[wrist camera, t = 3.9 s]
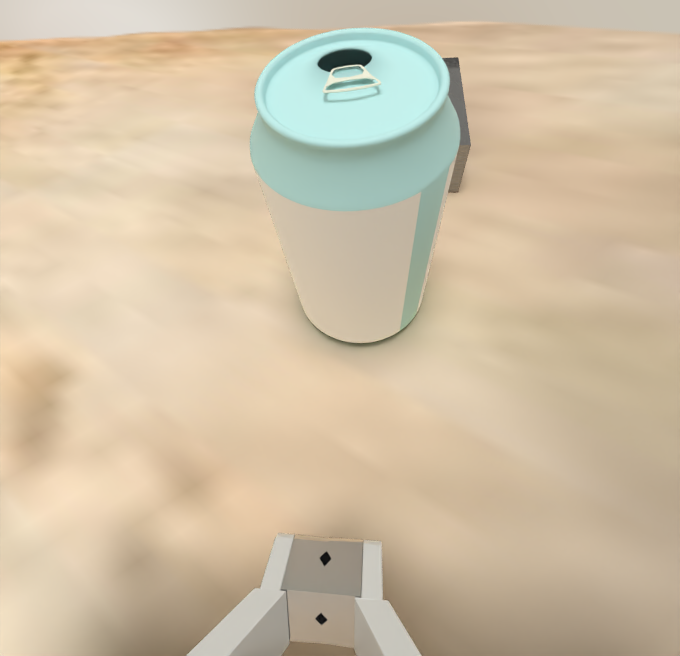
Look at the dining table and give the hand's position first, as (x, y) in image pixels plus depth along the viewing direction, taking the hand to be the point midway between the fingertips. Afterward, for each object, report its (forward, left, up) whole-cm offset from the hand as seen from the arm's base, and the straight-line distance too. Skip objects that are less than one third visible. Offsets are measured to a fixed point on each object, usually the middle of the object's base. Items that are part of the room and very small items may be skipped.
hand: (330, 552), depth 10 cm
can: (-3, -12, -6) cm, 14 cm away
